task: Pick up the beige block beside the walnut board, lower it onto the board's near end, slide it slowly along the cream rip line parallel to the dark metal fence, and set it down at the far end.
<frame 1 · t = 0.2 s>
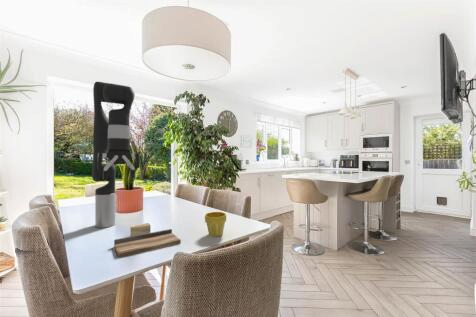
hand: (119, 180, 86), 29 cm above the table, fingers open, 8 cm apart
plant pot: (215, 234, 109), on the table
walnut board: (148, 245, 95), on the table
beige block: (140, 235, 107), on the table
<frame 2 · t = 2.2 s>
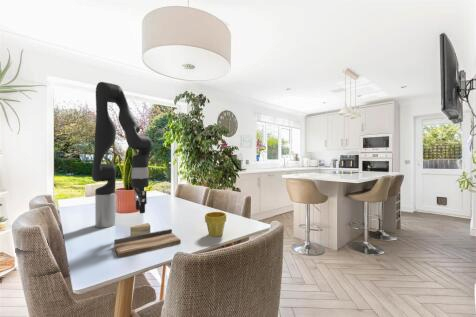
hand: (140, 211, 106), 12 cm above the table, fingers open, 8 cm apart
nothing on the table moved.
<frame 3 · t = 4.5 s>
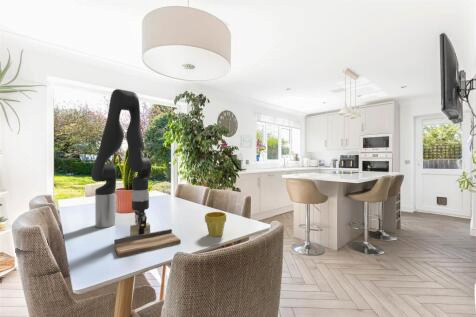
hand: (140, 234, 107), 0 cm above the table, fingers closed on beige block, 4 cm apart
beige block: (140, 235, 107), on the table, touching gripper
everything else where it was.
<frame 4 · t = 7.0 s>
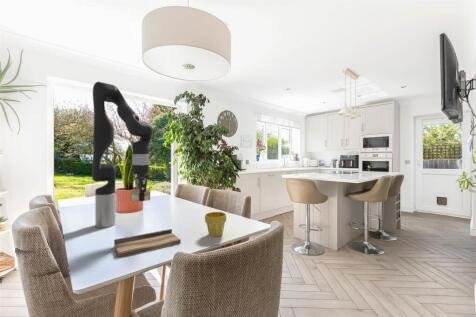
hand: (140, 199, 107), 17 cm above the table, fingers closed on beige block, 4 cm apart
beige block: (140, 200, 106), point 17 cm above the table, touching gripper
everything else where it was.
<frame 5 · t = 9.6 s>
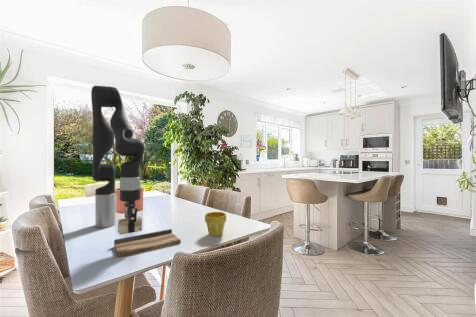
hand: (130, 230, 90), 8 cm above the table, fingers closed on beige block, 4 cm apart
beige block: (130, 231, 90), point 8 cm above the table, touching gripper
everything else where it was.
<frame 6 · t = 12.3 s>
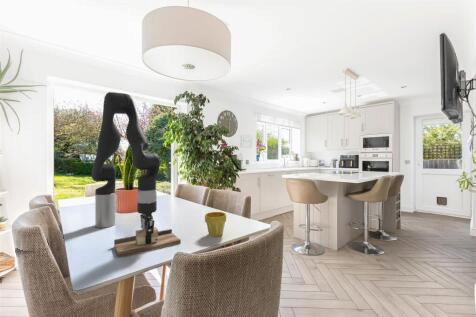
hand: (147, 241, 94), 2 cm above the table, fingers closed on beige block, 4 cm apart
beige block: (146, 241, 94), point 2 cm above the table, touching gripper
everything else where it was.
when the fingers open (2 cm above the table, at t = 14.8 s): beige block stays where it is, resting on walnut board.
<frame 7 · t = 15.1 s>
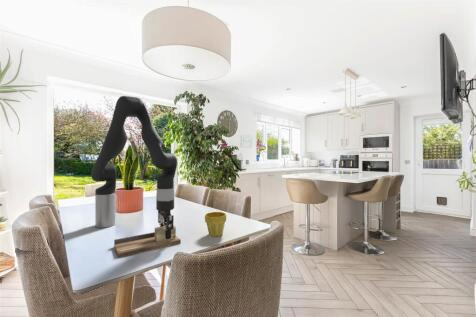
hand: (165, 236, 99), 3 cm above the table, fingers open, 7 cm apart
beige block: (165, 238, 99), point 1 cm above the table, touching walnut board
everything else where it was.
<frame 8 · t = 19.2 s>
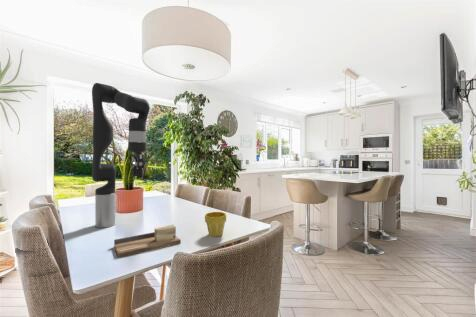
hand: (137, 177, 103), 28 cm above the table, fingers open, 8 cm apart
nothing on the table moved.
at the end: beige block inside the target area (0.1 cm from its centre), point 1.5 cm above the table; beige block tilted 0°; the gripper is holding nothing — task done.
